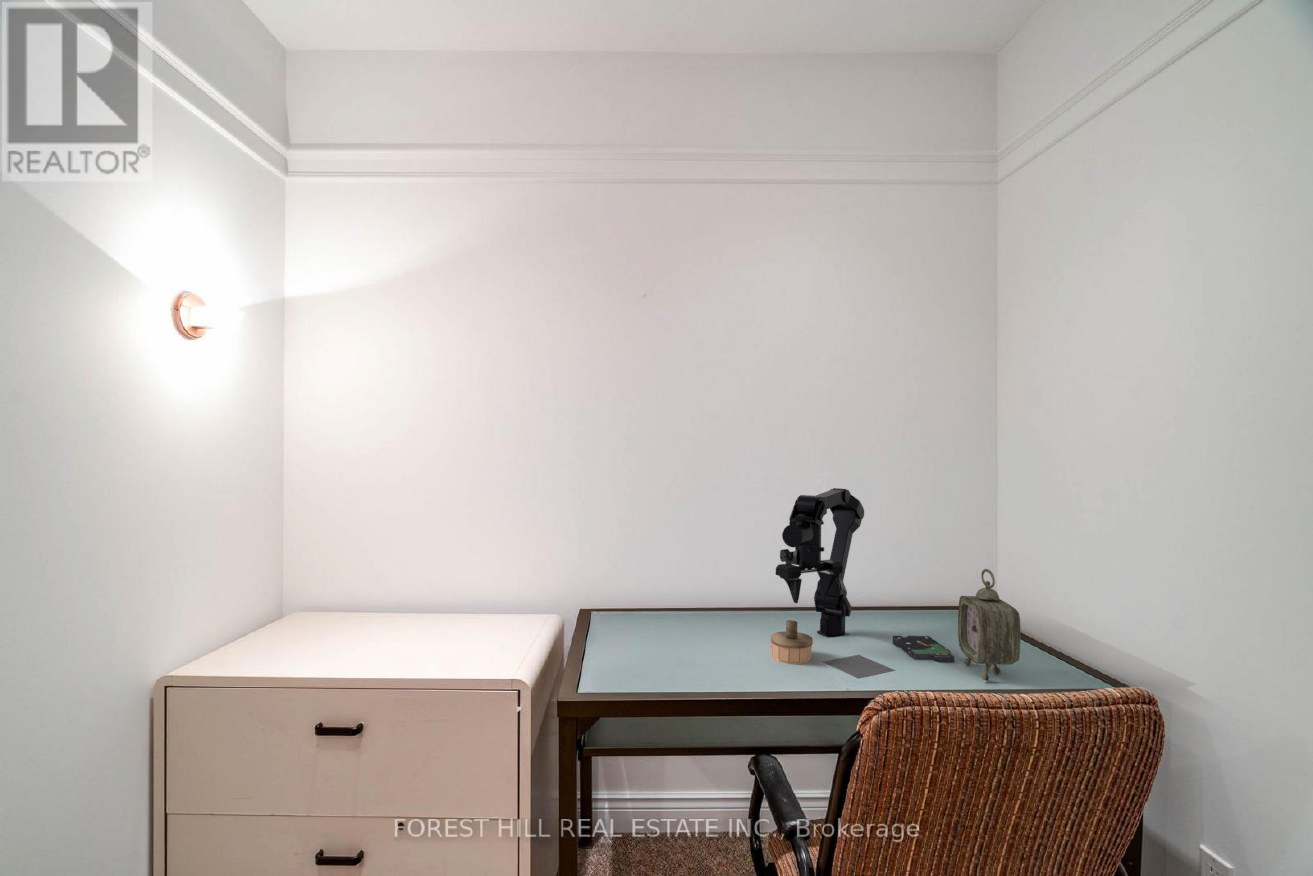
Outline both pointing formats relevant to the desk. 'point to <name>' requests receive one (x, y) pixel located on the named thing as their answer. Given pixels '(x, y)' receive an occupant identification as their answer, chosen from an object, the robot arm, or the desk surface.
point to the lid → (791, 637)
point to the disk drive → (923, 648)
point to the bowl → (791, 654)
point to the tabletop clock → (988, 629)
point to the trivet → (858, 666)
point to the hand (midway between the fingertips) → (809, 601)
